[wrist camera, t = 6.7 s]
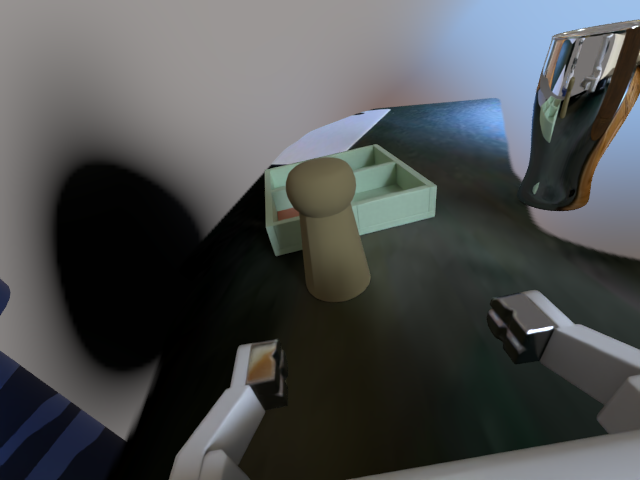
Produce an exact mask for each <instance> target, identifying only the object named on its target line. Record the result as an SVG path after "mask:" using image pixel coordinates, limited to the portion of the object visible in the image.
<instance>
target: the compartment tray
mask: <svg viewBox="0 0 640 480" xmlns="http://www.w3.org/2000/svg"><path fill="white" fill-rule="evenodd" d="M324 157H334V158H339V159H342V160H344V161H346V162H347V163H348V164H349V165H350V167H351V168H352V170H353V173H354V176H355V178H356V191H355V195H354V198H353V200H352V201H351V206H352V209H353V213H354V217H355V220H356V224H357V228H358V231H359V235H363V234H367V233H371V232H375V231H379V230H383V229H387V228H391V227H395V226H399V225H403V224H407V223H411V222H415V221H419V220H423V219H427V218H431V217H435V206H436V191H437V186H436V185H435V184H433V183H432V182H431V181H429V180H428V179H426V178H425V177H423V176H422V175H421V174H419V173H418V172H416V171H415V170H413V169H412V168H410V167H409V166H408V165H406V164H405V163H403V162H402V161H400V160H399V159H398V158H396V157H395V156H393V155H392V154H390V153H389V152H388V151H386V150H385V149H383V148H382V147H380V146H379V145H377V144H374V145H370V146H366V147H362V148H357V149H353V150H349V151H344V152H340V153H336V154H332V155H327V156H323V157H319V158H324ZM314 159H317V158H314ZM310 160H312V159H310ZM306 161H308V160H306ZM303 162H305V161H302V162H297V163H293V164H289V165H284V166H280V167H276V168H272V169H267V170H265V208H266V230H267V232H268V235H269V238H270V241H271V244H272V247H273V250H274V253H275V256H279V255H283V254H287V253H291V252H295V251H299V250H303V248H302V238H301V228H300V218H299V212H298V211H297V210H295V209H294V208H293V206H292V204H291V203H290V201H289V199H288V197H287V193H286V180H287V176H288V173H289V172H290V171H291V170H292V169H293V168H294V167H295V166H297V165H299V164H300V163H303Z"/></svg>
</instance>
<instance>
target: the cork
mask: <svg viewBox="0 0 640 480" xmlns="http://www.w3.org/2000/svg"><path fill="white" fill-rule="evenodd" d="M355 191H356V178H355V176H354V173H353V170H352V168H351V167H350V165H349V164H348V163H347V162H346V161H344V160H342V159H339V158H334V157H324V158H317V159H312V160H308V161H305V162H303V163H300V164H299V165H297V166H295V167H294V168H293V169H292V170H291V171H290V172H289V173H288V176H287V180H286V193H287V197H288V199H289V201H290V203H291V204H292V206H293V208H294V209H295V210H297V211H298V212H299V218H300V228H301V238H302V248H303V258H304V268H305V278H306V286H307V288H308V291H309V293H311V294H312V295H313V296H314V297H315V298H317V299H320V300H322V301H326V302H341V301H347V300H350V299H352V298H355V297H357V296H358V295H359V294H361V293H362V292H363V291H365V289H366V288H367V286H368V285H369V283H370V278H371V275H370V271H369V268H368V264H367V261H366V257H365V253H364V250H363V246H362V242H361V239H360V235H359V231H358V228H357V224H356V220H355V217H354V213H353V209H352V206H351V201H352V200H353V198H354V195H355Z"/></svg>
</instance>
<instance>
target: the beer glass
mask: <svg viewBox="0 0 640 480" xmlns="http://www.w3.org/2000/svg"><path fill="white" fill-rule="evenodd" d="M639 94H640V20H632V21H625V22H618V23H612V24H605V25H599V26H594V27H588V28H583V29H578V30H573V31H569V32H564V33H560V34H556V35H554V36H553V37H552V41H551V44H550V47H549V51H548V54H547V57H546V60H545V63H544V67H543V69H542V72H541V76H540V79H539V83H538V87H537V91H536V96H535V101H534V106H533V116H532V132H531V153H530V161H529V166H528V169H527V172H526V175H525V177H524V179H523V181H522V183H521V185H520V187H519V189H518V192H517V197H518V199H519V200H520V201H521V202H523V203H524V204H526V205H529V206H531V207H534V208H538V209H543V210H550V211H569V210H575V209H578V208H581V207H583V206H585V205H586V204H587V202H588V200H589V195H590V189H591V181H592V177H593V174H594V171H595V168H596V166H597V164H598V162H599V160H600V158H601V157H602V155H603V154H604V152H605V150H606V149H607V147H608V146H609V144H610V143H611V141H612V140H613V138H614V137H615V135H616V134H617V132H618V130H619V129H620V127H621V126H622V124H623V123H624V121H625V119H626V118H627V116H628V114H629V112H630V111H631V109H632V107H633V106H634V104H635V102H636V100H637V98H638V96H639Z"/></svg>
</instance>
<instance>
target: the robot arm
mask: <svg viewBox="0 0 640 480" xmlns="http://www.w3.org/2000/svg"><path fill="white" fill-rule="evenodd" d="M490 306H491V307H492V309H491V310H490V311H489V312H488V314H487V323H488V327H489V329H490V331H491V332H492V334H493V335H494V337H495V338H497V339H499V340H501V341H502V342H503V349H504V350H505V352H506V353H507V354H508V356H509V357H510V358H511V360H512V361H513V362H514V364H521V363H528V362H534V361H539V362H540V363H542V364H543V365H545V366H546V367H548V368H549V369H551V370H552V371H554V372H555V373H557V374H558V375H560V376H561V377H563V378H564V379H566V380H567V381H569V382H570V383H572V384H573V385H575V386H576V387H578V388H580V389H581V390H583V391H584V392H586V393H587V394H589V395H590V396H592V397H593V398H595V399H596V400H598V401H599V402H601V403H602V404H604V405H605V406H604V407H603V408H602V409H601V411H600V412H599V413H598V414H597V420H598V422H599V423H600V424H601V425H602V426H603V428H604V429H605V430H606V431H607V432H608V434H607V435H601V436H596V437H590V438H584V439H578V440H573V441H567V442H561V443H555V444H550V445H544V446H538V447H532V448H526V449H521V450H515V451H509V452H503V453H498V454H492V455H486V456H480V457H475V458H469V459H463V460H457V461H452V462H446V463H440V464H434V465H428V466H423V467H417V468H411V469H405V470H400V471H394V472H388V473H382V474H377V475H371V476H365V477H359V478H354V479H348V480H640V350H639V349H636V348H634V347H632V346H629V345H627V344H625V343H622V342H620V341H618V340H615V339H613V338H611V337H608V336H606V335H604V334H601V333H599V332H597V331H595V330H592V329H590V328H588V327H585V326H583V325H581V324H574V323H573V322H572V321H570V320H569V319H568V318H567V317H566V316H565V315H564V314H563V313H562V312H561V311H560V310H559V309H558V308H556V307H555V306H554V305H553V304H552V303H551V302H550V301H549V300H548V299H547V298H546V297H545V296H544V295H542V294H541V293H540V292H539V291H537V290H531V291H526V292H521V293H514V294H509V295H504V296H499V297H495V298H493V299H492V300H491V302H490ZM287 377H288V363H287V357H286V354H285V351H284V350H282V349H281V342H280V340H279V339H274V340H268V341H262V342H256V343H250V344H244V345H239V347H238V349H237V354H236V359H235V364H234V369H233V375H232V380H231V385H230V388H229V389H226V390H225V391H224V392H223V394H222V395H221V396H220V398H219V399H218V400H217V402H216V403H215V404H214V406H213V407H212V408H211V410H210V411H209V412H208V414H207V415H206V416H205V418H204V419H203V420H202V422H201V423H200V424H199V426H198V427H197V428H196V430H195V431H194V432H193V434H192V435H191V436H190V438H189V439H188V440H187V442H186V443H185V444H184V446H183V447H182V448H181V450H180V451H179V452H178V454H177V455H176V458H175V461H174V464H173V468H172V471H171V474H170V478H169V480H250V479H249V477H248V476H247V475H246V474H245V473H244V472H243V471H242V470H241V469H240V468H239V467H238V465H239V463H240V461H241V459H242V457H243V455H244V453H245V451H246V449H247V447H248V445H249V443H250V441H251V439H252V437H253V435H254V433H255V431H256V430H257V428H258V426H259V424H260V422H261V420H262V418H263V416H264V414H265V410H270V409H275V408H279V407H284V406H288V386H287V384H286V382H285V380H286V378H287Z"/></svg>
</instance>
